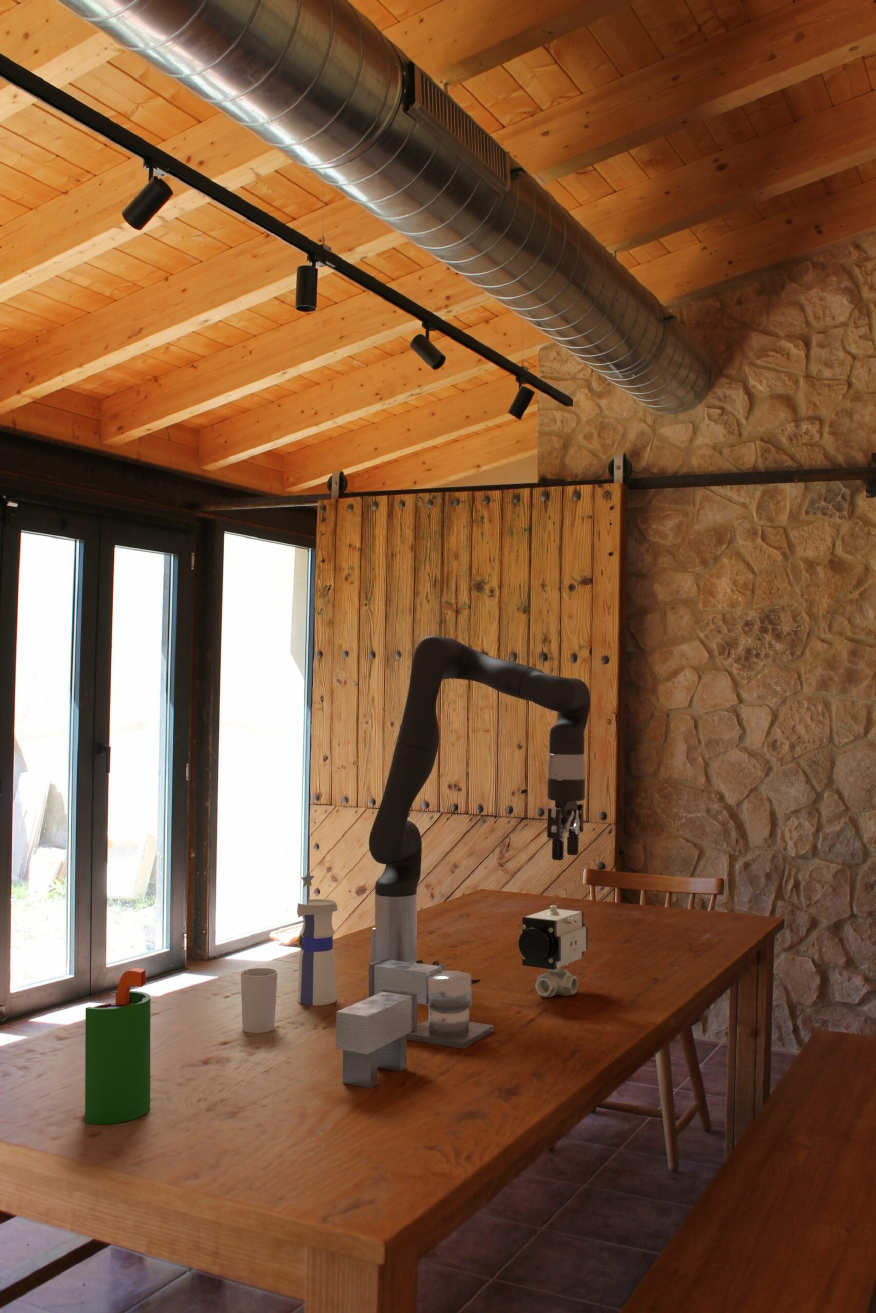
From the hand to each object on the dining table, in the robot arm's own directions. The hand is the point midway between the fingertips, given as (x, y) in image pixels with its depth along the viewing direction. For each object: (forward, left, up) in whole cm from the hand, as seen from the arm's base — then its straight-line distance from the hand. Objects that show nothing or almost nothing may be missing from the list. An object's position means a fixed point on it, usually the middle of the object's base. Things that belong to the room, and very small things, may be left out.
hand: (565, 857), depth 220 cm
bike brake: (-27, -5, -29) cm, 40 cm away
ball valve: (-3, +3, -28) cm, 29 cm away
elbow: (-15, -33, -23) cm, 43 cm away
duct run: (-9, -58, -28) cm, 65 cm away
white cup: (-41, -46, -28) cm, 68 cm away
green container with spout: (-33, -89, -28) cm, 99 cm away
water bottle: (-43, -25, -28) cm, 57 cm away
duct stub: (-9, -33, -28) cm, 44 cm away
